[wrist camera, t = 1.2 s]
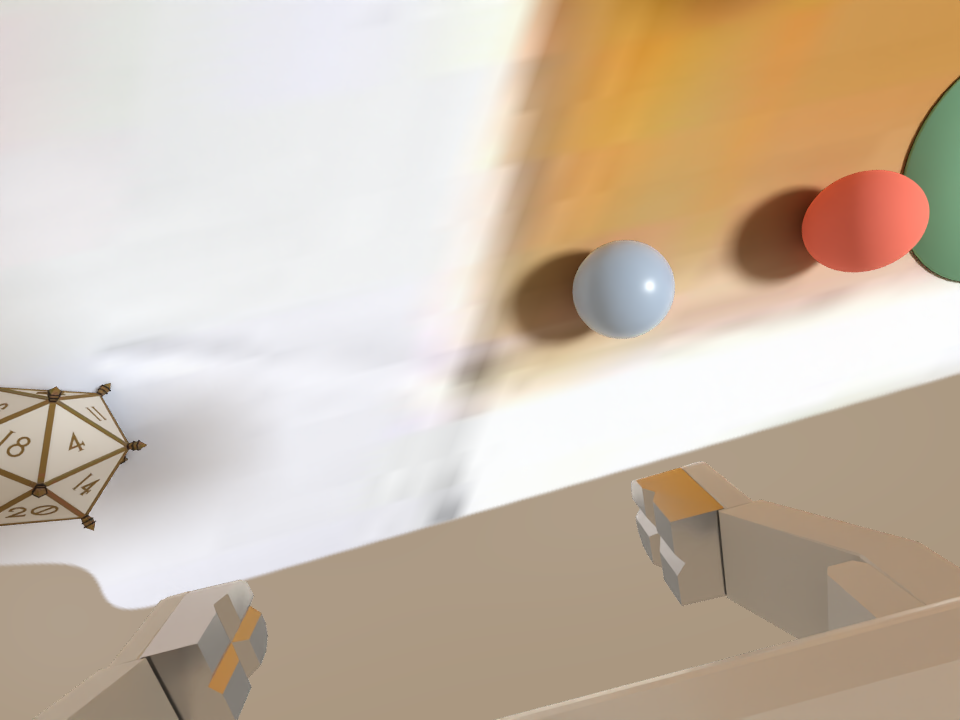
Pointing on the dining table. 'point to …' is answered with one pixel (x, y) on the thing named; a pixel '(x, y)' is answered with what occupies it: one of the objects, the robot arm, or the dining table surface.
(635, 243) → the blue ball
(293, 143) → the dining table surface
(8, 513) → the game die
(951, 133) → the green mark
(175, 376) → the dining table surface
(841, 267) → the red ball
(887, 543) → the robot arm
